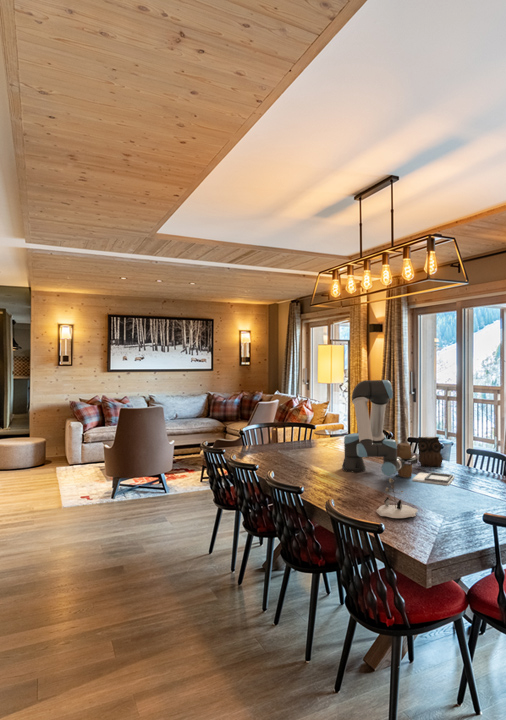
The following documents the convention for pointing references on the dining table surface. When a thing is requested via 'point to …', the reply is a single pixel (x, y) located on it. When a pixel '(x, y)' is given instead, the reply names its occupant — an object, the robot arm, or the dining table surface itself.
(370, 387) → the robot arm
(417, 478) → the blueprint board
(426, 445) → the owl
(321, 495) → the dining table surface
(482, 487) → the dining table surface
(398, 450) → the block
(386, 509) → the figurine
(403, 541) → the dining table surface
